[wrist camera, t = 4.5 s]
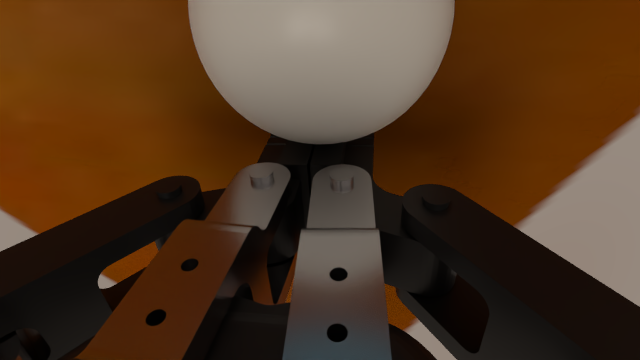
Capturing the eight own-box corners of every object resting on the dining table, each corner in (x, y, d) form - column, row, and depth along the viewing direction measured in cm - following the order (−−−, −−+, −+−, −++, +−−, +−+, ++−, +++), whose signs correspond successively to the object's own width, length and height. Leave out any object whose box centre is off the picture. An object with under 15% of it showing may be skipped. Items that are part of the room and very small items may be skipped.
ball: (226, -106, 10) (85, -178, 5) (448, -121, 9) (516, -223, 5) (250, 104, 13) (168, 183, 8) (427, 105, 12) (457, 194, 7)
